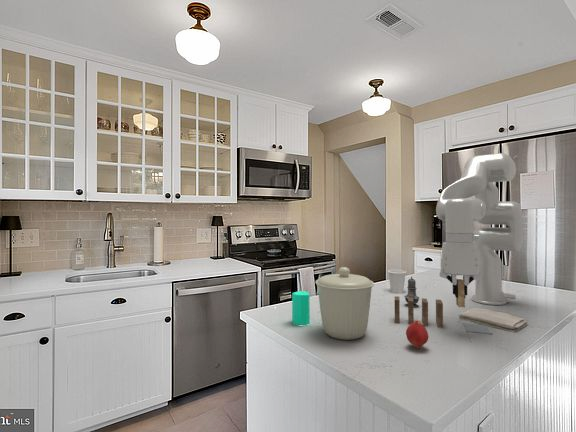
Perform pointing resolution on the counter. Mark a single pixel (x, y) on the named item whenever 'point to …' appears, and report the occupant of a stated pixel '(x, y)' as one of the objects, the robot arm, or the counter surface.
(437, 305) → the domino
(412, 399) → the counter surface
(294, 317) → the candle
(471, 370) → the counter surface
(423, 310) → the domino
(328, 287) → the canister
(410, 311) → the domino
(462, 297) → the domino
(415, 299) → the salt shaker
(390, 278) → the dixie cup
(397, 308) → the domino
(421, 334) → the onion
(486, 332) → the pad
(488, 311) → the washcloth
